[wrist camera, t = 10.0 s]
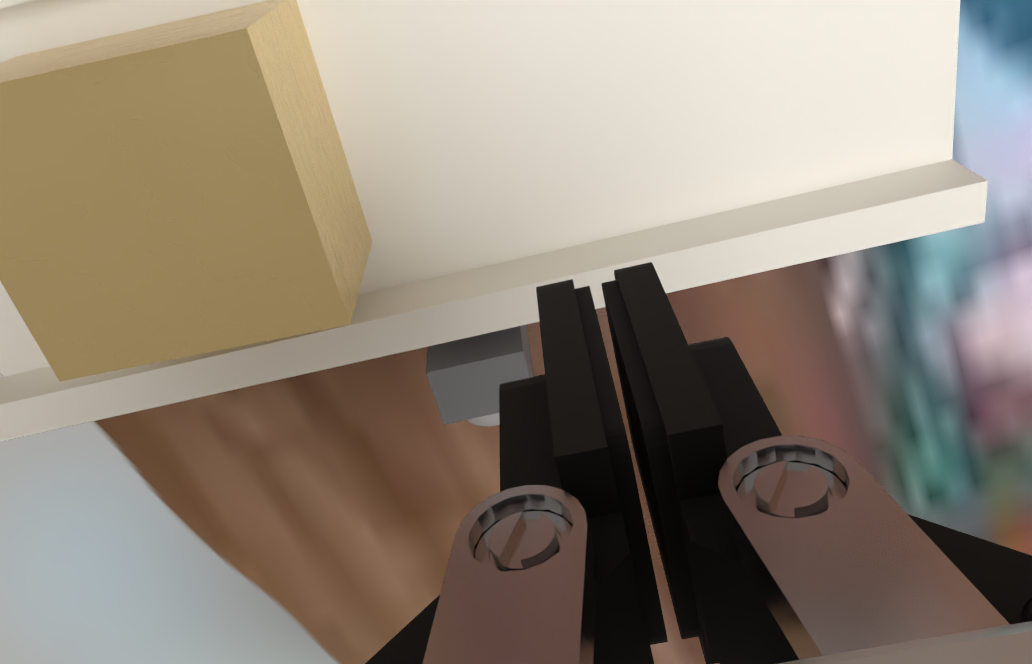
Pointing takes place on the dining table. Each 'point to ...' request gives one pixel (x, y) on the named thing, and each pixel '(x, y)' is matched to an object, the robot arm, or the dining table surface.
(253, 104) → the block
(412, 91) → the beam
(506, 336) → the balance stand
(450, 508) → the dining table surface
